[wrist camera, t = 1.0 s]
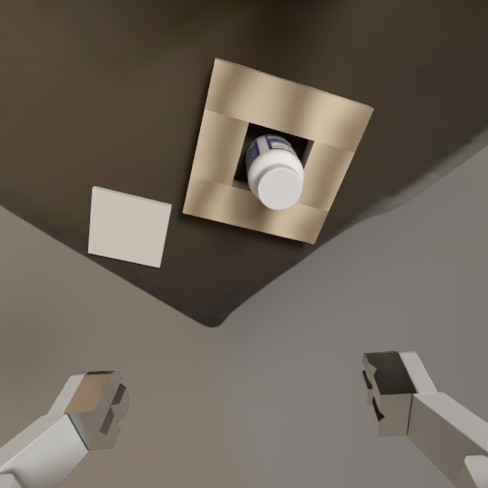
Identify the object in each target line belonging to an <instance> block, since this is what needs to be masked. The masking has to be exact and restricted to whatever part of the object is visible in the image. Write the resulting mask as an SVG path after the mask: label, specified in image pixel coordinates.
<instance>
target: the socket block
mask: <svg viewBox="0 0 488 488" xmlns="http://www.w3.org/2000/svg"><path fill="white" fill-rule="evenodd" d="M373 110H374V108H372V107H370V106H368V105H366V104H363V103H359V102H356V101H353V100H350V99H347V98H343V97H340V96H337V95H334V94H331V93H328V92H324V91H321V90H318V89H315V88H312V87H309V86H305V85H302V84H299V83H296V82H293V81H289V80H286V79H283V78H280V77H277V76H274V75H270V74H267V73H264V72H261V71H258V70H255V69H251V68H248V67H245V66H242V65H239V64H235V63H232V62H229V61H226V60H223V59H220V58H216V59H215V63H214V68H213V72H212V77H211V82H210V86H209V91H208V96H207V101H206V105H205V110H204V115H203V119H202V124H201V129H200V134H199V138H198V143H197V148H196V152H195V157H194V162H193V166H192V171H191V176H190V181H189V185H188V190H187V195H186V199H185V204H184V209H183V213H185V214H189V215H193V216H197V217H202V218H206V219H210V220H214V221H219V222H223V223H227V224H231V225H235V226H240V227H244V228H248V229H252V230H257V231H261V232H265V233H269V234H273V235H278V236H282V237H286V238H290V239H295V240H299V241H303V242H307V243H311V244H314V243H315V241H316V239H317V236H318V234H319V232H320V230H321V227H322V225H323V223H324V221H325V218H326V216H327V214H328V212H329V209H330V207H331V205H332V203H333V200H334V198H335V196H336V194H337V191H338V189H339V187H340V185H341V182H342V180H343V178H344V176H345V173H346V171H347V169H348V167H349V164H350V162H351V160H352V158H353V155H354V153H355V151H356V148H357V146H358V144H359V142H360V139H361V137H362V135H363V133H364V130H365V128H366V126H367V124H368V121H369V119H370V117H371V115H372V112H373ZM249 122H250V123H254V124H257V125H261V126H264V127H268V128H271V129H275V130H278V131H281V132H285V133H288V134H292V135H295V136H299V137H302V138H306V139H308V142H307V145H306V147H305V150H304V153H303V156H302V158H301V161H300V162H301V164H302V167H303V170H304V182H303V186H302V193H301V196H300V198H299V199H298V201H297V202H296V203H295V204H294V205H293V206H291V207H289V208H287V209H284V210H273V209H270V208H268V207H266V206H265V205H264V204H263V203H262V202H261V201H260V200H259V199H257V198H256V197H255V196H254V194H253V193H252V191H251V189H250V187H249V184H248V183H246V182H243V181H239V180H235V179H233V178H234V175H235V171H236V168H237V164H238V160H239V157H240V153H241V150H242V146H243V142H244V139H245V135H246V132H247V128H248V124H249Z"/></svg>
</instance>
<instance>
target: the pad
mask: <svg viewBox="0 0 488 488" xmlns="http://www.w3.org/2000/svg"><path fill="white" fill-rule="evenodd" d="M171 207H172V205H171V204H167V203H163V202H159V201H155V200H150V199H146V198H142V197H138V196H134V195H130V194H125V193H121V192H117V191H113V190H109V189H105V188H100V187H96V186H94V187H93V188H92V202H91V217H90V232H89V247H88V253H91V254H96V255H101V256H106V257H110V258H115V259H120V260H125V261H129V262H134V263H139V264H144V265H149V266H153V267H158V268H160V264H161V259H162V254H163V249H164V244H165V238H166V233H167V228H168V223H169V218H170V213H171Z"/></svg>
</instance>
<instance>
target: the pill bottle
mask: <svg viewBox="0 0 488 488" xmlns="http://www.w3.org/2000/svg"><path fill="white" fill-rule="evenodd" d="M246 170H247V177H248V184H249V187H250V189H251V191H252V193H253V194H254V196H255V197H256V198H257V199H259V200H260V201H261V202H262V203H263V204H264V205H265V206H266V207H268V208H270V209H273V210H284V209H287V208H289V207H291V206H293V205H294V204H295V203H296V202H297V201H298V199H299V198H300V196H301V193H302V186H303V182H304V170H303V167H302V164H301V162H300V160H299V159H298V157H297V155H296V153H295V152H294V150H293V148H292V146H291V145H290V143H289V142H288V141H287V140H286V139H285V138H283V137H282V136H279V135H276V134H265V135H262V136H260V137H258V138H256V139H255V140H254V141H253V142H252V143H251V144H250V146H249V147H248V150H247V152H246Z"/></svg>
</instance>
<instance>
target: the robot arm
mask: <svg viewBox="0 0 488 488" xmlns="http://www.w3.org/2000/svg"><path fill="white" fill-rule="evenodd" d="M363 365H364V368H365V370H364V371H363V372H362V381H363V389H364V393H365V397H366V401H367V403H368V404H369V405H370V406H371V407H372V412H371V417H372V420H373V422H374V426H375V429H376V432H377V435H378V436H408V438H409V439H410V440H411V442H413V444H414V445H415V446H416V447H417V448H418V449H419V450H420V451H421V452H422V453H423V454H424V455H425V456H426V457H427V458H428V459H429V460H430V461H431V462H432V463H433V464H434V465H435V466H436V467H437V468H438V469H439V470H440V471H441V472H442V473H443V474H444V475H445V476H446V477H447V478H448V479H449V480H450V481H451V482H452V483H453V484H454V485H455V486H456V487H457V488H488V424H487V423H486V422H485V421H483V420H482V419H480V418H479V417H477V416H476V415H475V414H473V413H472V412H470V411H469V410H467V409H466V408H465V407H463V406H462V405H460V404H459V403H457V402H456V401H454V400H453V399H452V398H450V397H449V396H447V395H446V394H444V393H438V392H437V390H436V388H435V386H434V385H433V383H432V381H431V379H430V377H429V375H428V374H427V372H426V370H425V368H424V366H423V364H422V363H421V361H420V359H419V357H418V355H417V354H416V352H415V351H414V350H399V351H386V352H373V353H364V354H363ZM121 380H122V377H121V375H120V373H119V371H98V372H80V373H74V374H73V375H71V376H70V378H69V379H68V381H67V383H66V384H65V386H64V388H63V389H62V391H61V393H60V394H59V396H58V397H57V399H56V401H55V402H54V404H53V406H52V407H51V409H50V411H49V412H48V414H47V415H42V416H41V417H40V418H38V419H37V420H36V421H35V422H33V423H32V424H31V425H29V426H28V427H27V428H26V429H24V430H23V431H22V432H21V433H19V434H18V435H17V436H15V437H14V438H13V439H12V440H10V441H9V442H8V443H6V444H5V445H4V446H2V447H1V448H0V488H56V487H57V486H58V485H59V484H60V483H61V482H62V481H63V479H64V478H65V477H66V476H67V475H68V474H69V473H70V472H71V470H72V469H73V468H74V467H75V466H76V465H77V463H79V462H80V460H81V459H82V458H83V457H84V456H85V455H86V454H87V453H88V451H87V450H100V449H112V448H113V447H114V444H115V442H116V439H117V437H118V434H119V431H120V426H119V424H118V423H119V422H120V421H121V420H122V419H123V418H124V417H125V415H126V413H127V410H128V405H129V394H128V391H127V388H126V387H125V386H124V385H122V384H121V383H120V382H121Z"/></svg>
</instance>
